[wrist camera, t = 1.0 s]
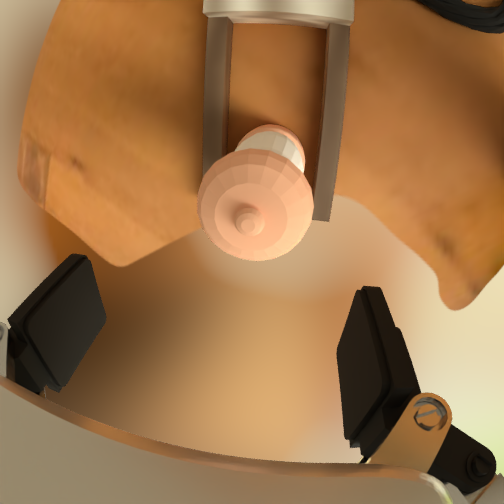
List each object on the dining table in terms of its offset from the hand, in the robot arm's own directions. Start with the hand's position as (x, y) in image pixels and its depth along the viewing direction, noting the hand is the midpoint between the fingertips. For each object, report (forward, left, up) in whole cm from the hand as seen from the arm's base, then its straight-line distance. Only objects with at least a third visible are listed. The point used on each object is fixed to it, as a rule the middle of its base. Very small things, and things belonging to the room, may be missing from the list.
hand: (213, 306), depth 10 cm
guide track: (0, -6, -26) cm, 26 cm away
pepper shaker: (0, 0, -26) cm, 26 cm away
